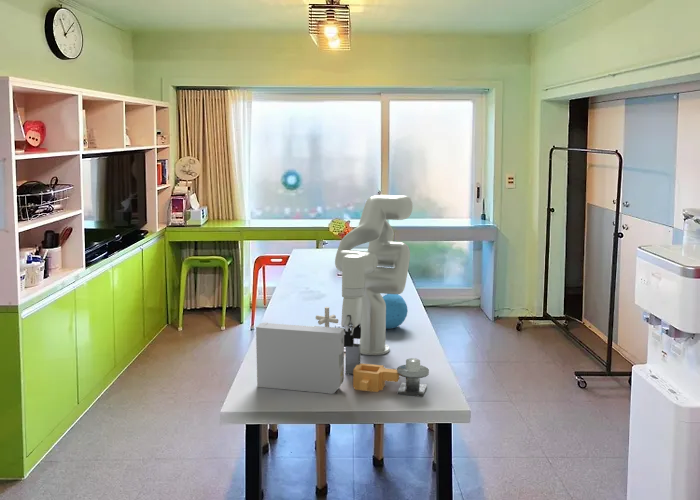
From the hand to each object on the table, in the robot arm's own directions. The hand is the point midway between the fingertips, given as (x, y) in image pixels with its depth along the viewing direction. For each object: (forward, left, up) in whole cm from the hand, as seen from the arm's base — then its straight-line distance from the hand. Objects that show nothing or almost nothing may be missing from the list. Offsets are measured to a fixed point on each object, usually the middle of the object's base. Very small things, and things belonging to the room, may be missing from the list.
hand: (352, 342), depth 231 cm
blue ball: (-56, 0, -11) cm, 57 cm away
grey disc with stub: (+9, +22, -11) cm, 26 cm away
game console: (+16, -13, -11) cm, 23 cm away
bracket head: (+11, +10, -11) cm, 19 cm away
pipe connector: (-44, -22, -11) cm, 50 cm away
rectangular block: (-1, 0, -11) cm, 11 cm away
